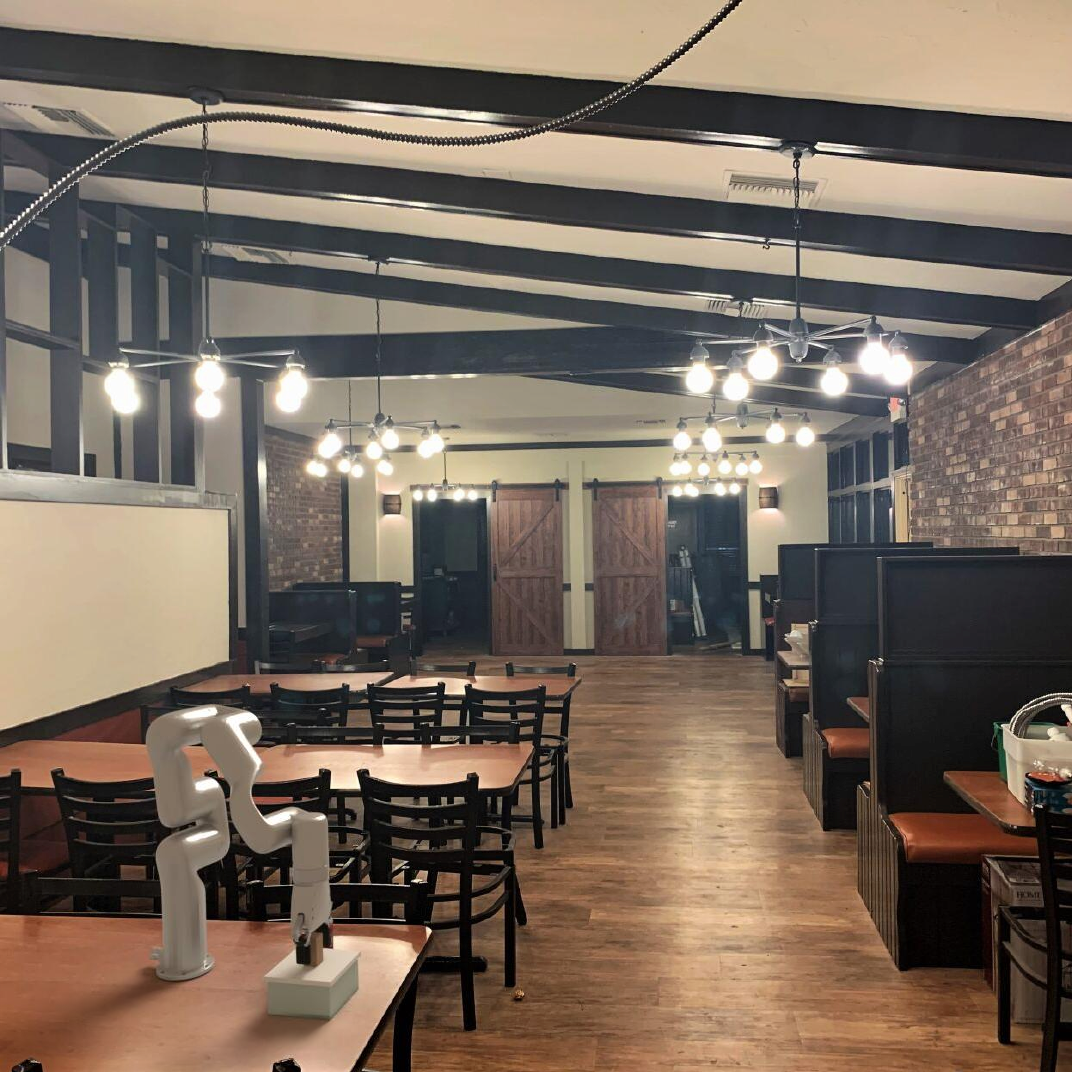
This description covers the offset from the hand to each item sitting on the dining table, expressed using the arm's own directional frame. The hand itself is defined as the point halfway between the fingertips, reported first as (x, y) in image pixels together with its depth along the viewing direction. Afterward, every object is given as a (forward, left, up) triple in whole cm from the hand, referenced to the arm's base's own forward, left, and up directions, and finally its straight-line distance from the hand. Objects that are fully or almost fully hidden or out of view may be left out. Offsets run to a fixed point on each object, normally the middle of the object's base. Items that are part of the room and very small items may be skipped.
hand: (313, 954), depth 204 cm
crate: (0, 0, -10) cm, 10 cm away
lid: (0, 0, -3) cm, 3 cm away
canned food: (-7, +15, -10) cm, 19 cm away
